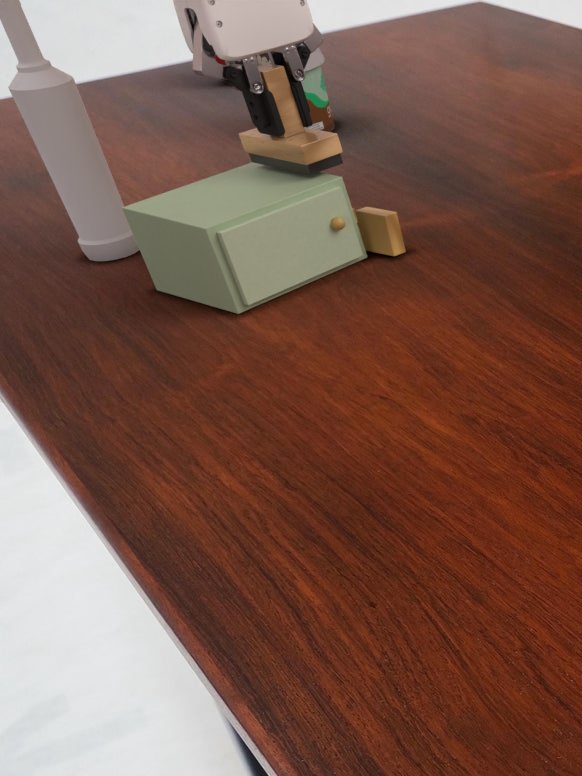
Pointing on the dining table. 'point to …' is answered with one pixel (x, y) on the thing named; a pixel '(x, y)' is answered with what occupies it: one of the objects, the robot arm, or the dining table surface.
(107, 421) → the dining table surface
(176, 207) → the cabinet
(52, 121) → the bottle
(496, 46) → the dining table surface
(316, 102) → the food container
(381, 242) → the cork chip
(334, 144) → the brush
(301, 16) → the robot arm
